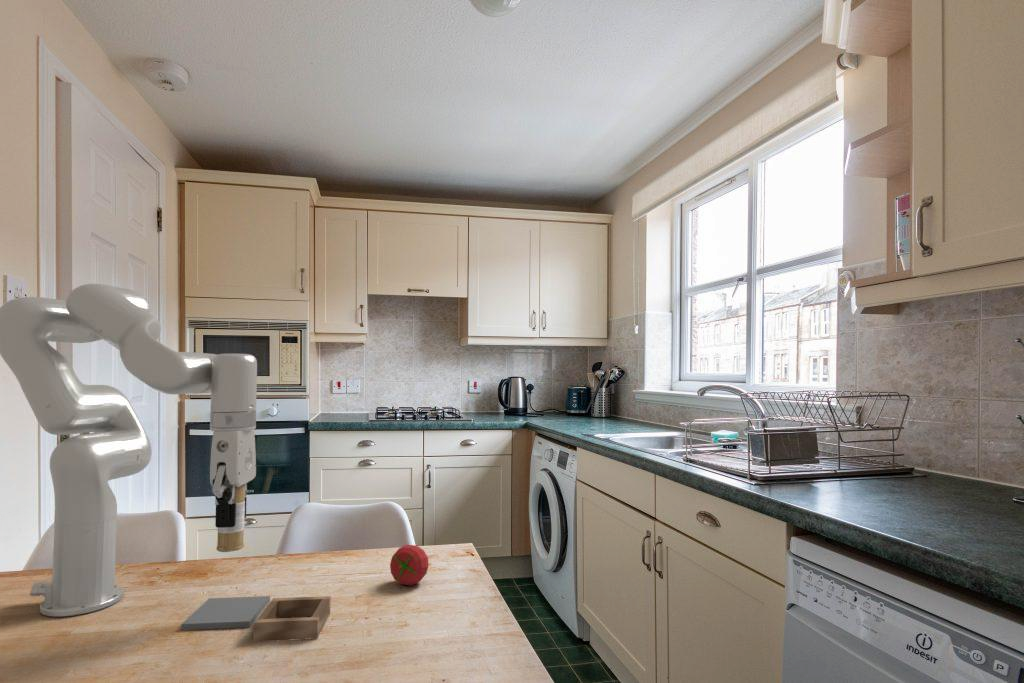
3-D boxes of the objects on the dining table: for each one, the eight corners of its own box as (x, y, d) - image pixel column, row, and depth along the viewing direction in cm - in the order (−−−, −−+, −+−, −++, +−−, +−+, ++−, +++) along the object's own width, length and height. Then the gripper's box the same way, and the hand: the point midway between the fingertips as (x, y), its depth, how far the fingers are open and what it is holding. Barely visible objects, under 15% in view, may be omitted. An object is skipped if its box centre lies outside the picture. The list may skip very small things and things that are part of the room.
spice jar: (213, 548, 103) (215, 473, 104) (240, 543, 106) (242, 470, 107) (219, 554, 100) (221, 477, 101) (247, 549, 103) (249, 474, 103)
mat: (181, 630, 96) (181, 624, 97) (208, 603, 107) (209, 598, 107) (249, 627, 98) (249, 621, 98) (269, 601, 109) (269, 596, 109)
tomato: (416, 535, 123) (400, 538, 116) (441, 561, 120) (425, 566, 113) (392, 563, 123) (375, 568, 116) (416, 591, 120) (399, 597, 113)
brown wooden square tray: (253, 641, 92) (254, 622, 93) (272, 615, 102) (273, 598, 102) (317, 638, 93) (317, 619, 94) (330, 613, 103) (330, 596, 104)
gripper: (237, 425, 96) (235, 535, 95) (269, 417, 113) (267, 511, 112) (190, 425, 96) (187, 537, 95) (229, 417, 112) (227, 512, 111)
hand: (231, 521), depth 103 cm, fingers closed on spice jar, 4 cm apart
